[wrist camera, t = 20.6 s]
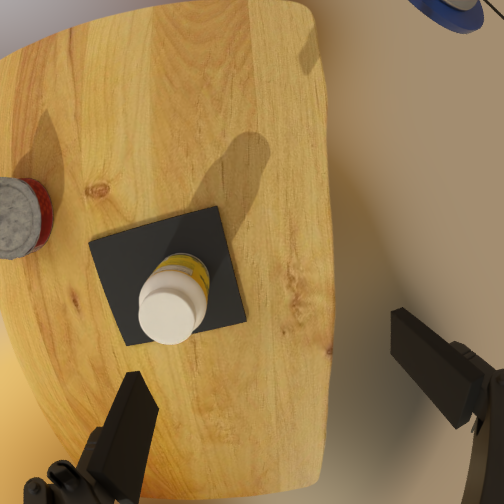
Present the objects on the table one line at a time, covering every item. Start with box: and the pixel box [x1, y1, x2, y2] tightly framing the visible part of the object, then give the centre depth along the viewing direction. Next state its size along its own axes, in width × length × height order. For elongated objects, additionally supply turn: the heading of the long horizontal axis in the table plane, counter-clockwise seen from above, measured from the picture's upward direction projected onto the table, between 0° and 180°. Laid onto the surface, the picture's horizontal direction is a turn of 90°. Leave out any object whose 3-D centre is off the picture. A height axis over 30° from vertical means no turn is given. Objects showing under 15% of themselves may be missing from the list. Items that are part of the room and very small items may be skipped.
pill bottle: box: [139, 253, 210, 345], centre depth 28 cm, size 6×6×11 cm
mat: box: [88, 206, 247, 346], centre depth 33 cm, size 16×14×1 cm
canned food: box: [0, 177, 53, 260], centre depth 27 cm, size 11×10×10 cm
